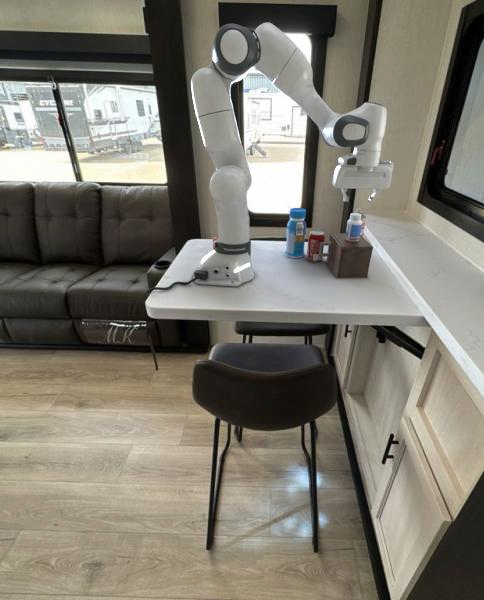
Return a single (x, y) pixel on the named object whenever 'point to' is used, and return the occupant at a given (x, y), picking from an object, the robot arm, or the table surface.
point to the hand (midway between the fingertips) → (358, 201)
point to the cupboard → (354, 257)
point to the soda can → (315, 245)
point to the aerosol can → (363, 219)
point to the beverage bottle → (296, 233)
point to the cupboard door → (332, 254)
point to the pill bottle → (353, 227)
